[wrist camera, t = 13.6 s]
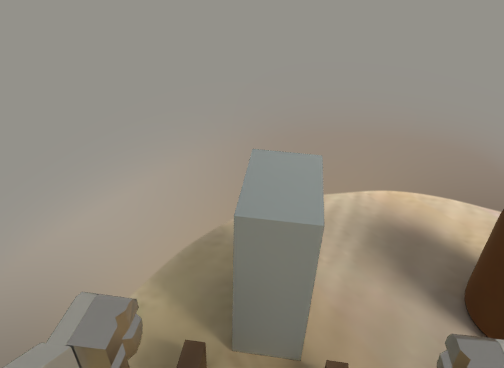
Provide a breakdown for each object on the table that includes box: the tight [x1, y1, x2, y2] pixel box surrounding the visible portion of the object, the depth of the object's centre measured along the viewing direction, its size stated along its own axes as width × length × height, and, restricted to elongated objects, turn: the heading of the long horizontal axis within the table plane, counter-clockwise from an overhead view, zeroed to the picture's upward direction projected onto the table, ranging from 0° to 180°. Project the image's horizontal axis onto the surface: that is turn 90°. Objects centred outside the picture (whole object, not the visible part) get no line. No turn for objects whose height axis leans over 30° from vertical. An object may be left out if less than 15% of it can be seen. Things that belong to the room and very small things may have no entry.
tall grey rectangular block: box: [232, 149, 324, 361], centre depth 25 cm, size 4×7×11 cm, turn 172°
